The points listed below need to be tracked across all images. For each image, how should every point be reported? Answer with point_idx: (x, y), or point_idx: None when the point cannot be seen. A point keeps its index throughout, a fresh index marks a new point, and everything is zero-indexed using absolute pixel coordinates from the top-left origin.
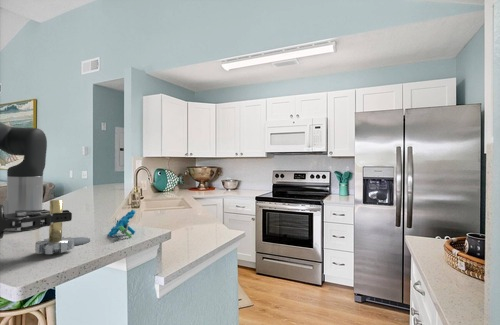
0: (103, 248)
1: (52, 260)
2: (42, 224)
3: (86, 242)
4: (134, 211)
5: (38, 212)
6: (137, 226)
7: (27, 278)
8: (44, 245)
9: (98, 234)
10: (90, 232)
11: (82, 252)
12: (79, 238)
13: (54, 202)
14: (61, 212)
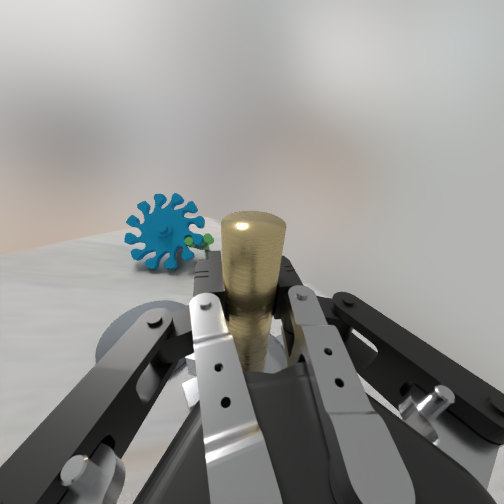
0: None
1: None
2: (356, 349)
3: None
4: (179, 195)
5: (331, 329)
6: (121, 231)
7: (499, 453)
8: None
9: (117, 284)
10: (68, 296)
11: (277, 322)
12: (131, 320)
13: (284, 235)
14: None
